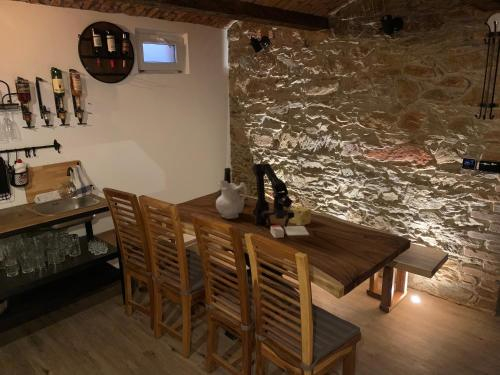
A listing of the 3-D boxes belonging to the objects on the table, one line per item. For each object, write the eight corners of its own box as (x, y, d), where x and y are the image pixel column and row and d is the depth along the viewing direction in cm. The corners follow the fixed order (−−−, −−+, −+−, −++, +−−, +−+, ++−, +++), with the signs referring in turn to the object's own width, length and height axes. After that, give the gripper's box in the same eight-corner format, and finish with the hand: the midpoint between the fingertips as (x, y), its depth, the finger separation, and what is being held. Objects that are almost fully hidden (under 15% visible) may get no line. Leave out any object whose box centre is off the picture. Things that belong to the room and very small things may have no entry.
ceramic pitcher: (248, 214, 277) (249, 179, 273) (245, 221, 258) (246, 184, 254) (218, 212, 279) (218, 178, 275) (213, 220, 260) (213, 183, 256)
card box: (283, 237, 234) (284, 230, 233) (275, 238, 233) (275, 230, 231) (279, 232, 242) (279, 225, 241) (270, 233, 241) (270, 225, 239)
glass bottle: (217, 209, 284) (217, 171, 276) (213, 202, 300) (213, 166, 293) (241, 207, 288) (242, 170, 281) (236, 200, 305) (236, 165, 298)
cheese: (300, 226, 251) (300, 212, 248) (288, 222, 259) (288, 207, 257) (311, 223, 258) (311, 208, 255) (299, 219, 266) (299, 204, 263)
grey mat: (287, 235, 236) (287, 234, 236) (283, 227, 249) (283, 226, 249) (309, 235, 237) (309, 234, 237) (303, 226, 251) (303, 226, 251)
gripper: (264, 207, 224) (264, 232, 228) (296, 206, 225) (295, 232, 229) (262, 201, 234) (261, 226, 238) (292, 201, 236) (291, 225, 240)
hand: (277, 227), depth 236 cm, fingers open, 9 cm apart
